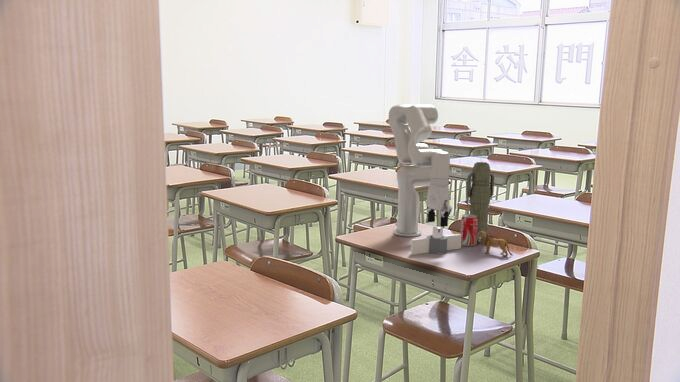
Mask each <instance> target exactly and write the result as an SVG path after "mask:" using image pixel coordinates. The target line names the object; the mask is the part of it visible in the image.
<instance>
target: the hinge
mask: <svg viewBox="0 0 680 382" xmlns="http://www.w3.org/2000/svg"><path fill="white" fill-rule="evenodd" d="M432 236H433V234H428V235H427V236H426V237H422V238H414V239H413V238H412V239H411V244H410V246H411V247H410V254H411V255H412V256H413V255H420V254H428V253H429V254H434V255H441V254H446V253H447V251H452V250H458V249H462V245H461V234H460V233H456V234H449V235H448V234H447V235H443V234H442V239H435V238H432Z"/></svg>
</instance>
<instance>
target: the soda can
mask: <svg viewBox="0 0 680 382" xmlns="http://www.w3.org/2000/svg"><path fill="white" fill-rule="evenodd" d="M460 218H461V219H460V229H459V231H460V232H459V234H461V246H462V247H468V248H469V247H475V246H476V245H478V244H477V229H478V219H477V216H476V215H473V214H470V213H464V214H462V217H460Z"/></svg>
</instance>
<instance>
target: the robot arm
mask: <svg viewBox="0 0 680 382" xmlns="http://www.w3.org/2000/svg"><path fill="white" fill-rule="evenodd" d="M438 118H439V113H438V110H437V108H436V106H434V105H433V104H396V105H393V106H392V107H391V108H390V109H389V111H388V122H389V127H390V130H391V133H392V135H393V138H394V144H395V145H394V146H395V149H396V151H395V152H396V157H397V160H398V162H399V163H400V164H403V165H404V166H401V167H399V168H398V169H397V172H396V181H397V189H398V190H397V191H398V192H397V193H398V198H397V200H398V202H397V222H395V224H394V225H395V226H396V229H394V230H393V233H394V234H395V235H396V236H399V237H411V238H413V237H419V236H421V235H422V231H421V230H420V229H419V214H420V213H419V210H420V195H419V192H418V191H417V190H416V188H417V187H428V188H427V194H426V195H427V196H426V200H425V205H426V212H427V222H428V223H435V222H436V212H437V211H438V212H440V214H441V216H440V224H439V225H440V226H439V227H443V228H445V227H448V225H449V223H448V222H449V217H450V215H451V213H452V210H453V207H452V206H451V204H450V200H451V199H450V186H449V185H450V165H451V164H450V163H451V154H450V153H449V151H444V150H443V149H441V148H440V149H439V148H434V149H432V148H431V147H430V146H429V145H428V144H426V143H421V142H424V141H426V140H427V139H429V138H430V136H431V135H432V134H433V133H432V132H433V129H432V126H431V125H433V124H436V123H437V121H438ZM405 124H407V125H408V126H407V125H405ZM435 211H436V212H435Z"/></svg>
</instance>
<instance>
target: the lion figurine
mask: <svg viewBox="0 0 680 382" xmlns="http://www.w3.org/2000/svg"><path fill="white" fill-rule="evenodd" d="M477 238H478V240H479V242H481V243H482V244H481V245H482V246H484V247H485V249H486V250H485V252H484V253H485V254H486V255H487V254H489V253H490V250H491V247H493V248H499V247H500V249H501V250H502V252H500V255H503V256H504V258H507V257H508V256H509V255H510V256H514V254H513V253H511V251H510V247H509V244H508V241H507V240H506V239H503V238H495V237H494V236H493V235H491V234H490V233H489V232H488V233H487V232H485V231H480V232H478V237H477Z"/></svg>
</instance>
